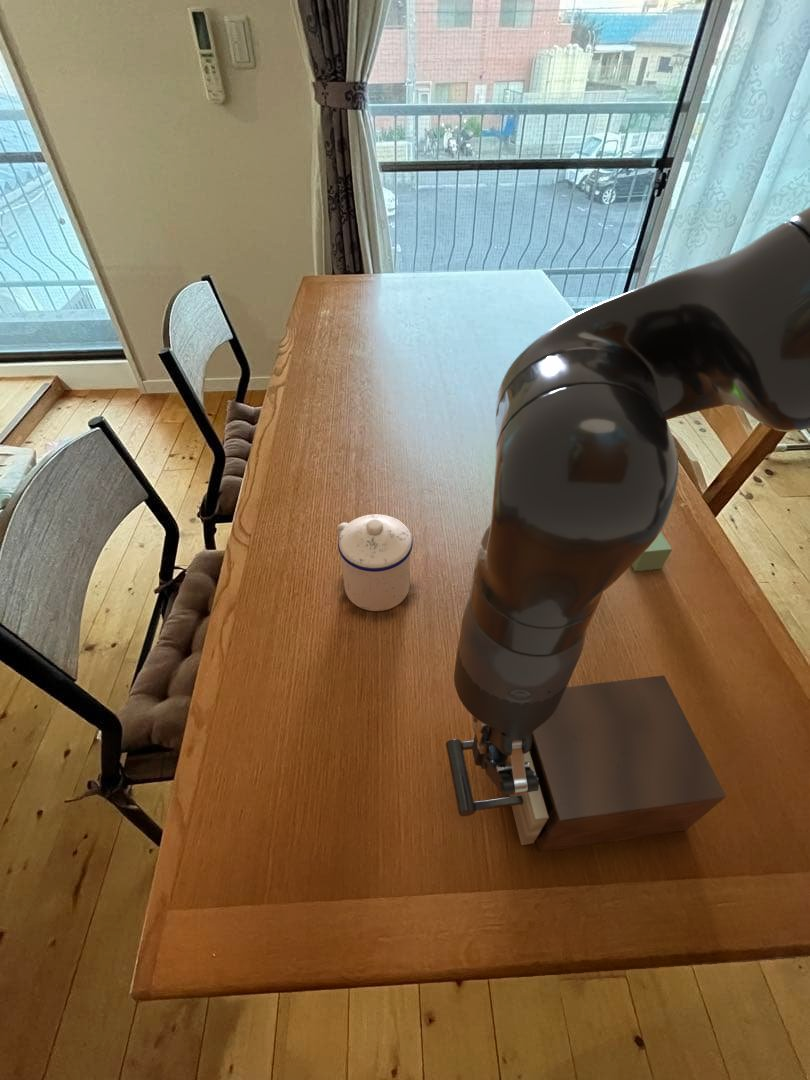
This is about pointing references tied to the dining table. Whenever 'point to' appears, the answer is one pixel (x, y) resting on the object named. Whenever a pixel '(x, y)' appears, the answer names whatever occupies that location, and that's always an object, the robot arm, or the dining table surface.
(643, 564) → the block
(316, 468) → the dining table surface
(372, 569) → the teacup with lid
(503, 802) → the drawer
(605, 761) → the cabinet
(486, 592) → the robot arm
